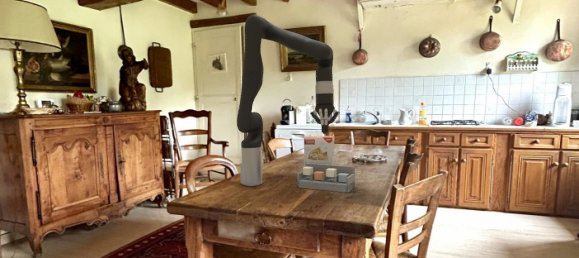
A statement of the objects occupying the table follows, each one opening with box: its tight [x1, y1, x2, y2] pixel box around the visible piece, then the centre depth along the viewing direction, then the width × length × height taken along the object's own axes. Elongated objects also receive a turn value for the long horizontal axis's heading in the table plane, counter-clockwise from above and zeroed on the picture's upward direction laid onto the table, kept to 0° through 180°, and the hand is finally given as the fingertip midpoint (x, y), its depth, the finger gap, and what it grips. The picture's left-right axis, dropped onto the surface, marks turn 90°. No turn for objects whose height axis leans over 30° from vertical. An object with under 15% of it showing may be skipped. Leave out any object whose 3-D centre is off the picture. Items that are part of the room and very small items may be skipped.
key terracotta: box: [314, 171, 325, 180], centre depth 144 cm, size 4×4×3 cm
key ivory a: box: [302, 167, 313, 175], centre depth 147 cm, size 4×4×3 cm
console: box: [296, 163, 356, 194], centre depth 143 cm, size 23×10×9 cm, turn 63°
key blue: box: [338, 173, 349, 182], centre depth 139 cm, size 4×4×3 cm
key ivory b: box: [326, 168, 337, 177], centre depth 142 cm, size 4×4×3 cm
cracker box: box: [303, 135, 335, 168], centre depth 159 cm, size 14×6×21 cm, turn 73°
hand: (325, 133), depth 139 cm, fingers closed
